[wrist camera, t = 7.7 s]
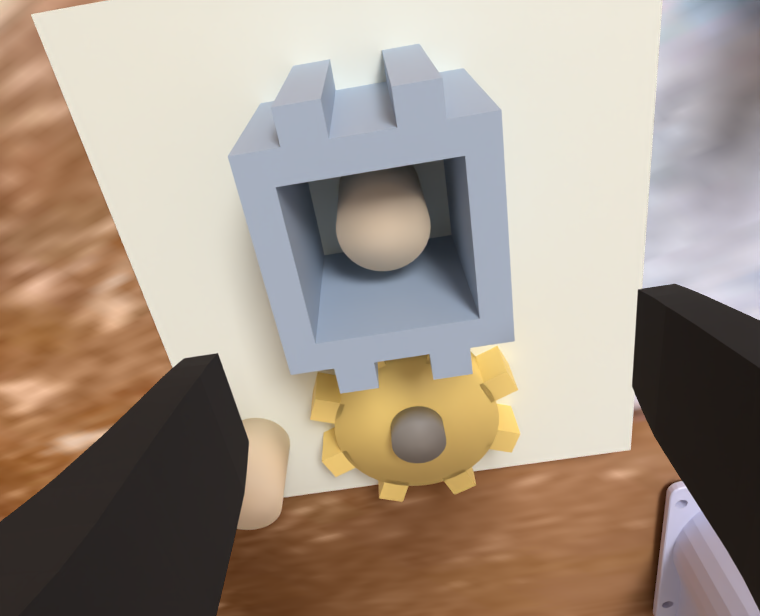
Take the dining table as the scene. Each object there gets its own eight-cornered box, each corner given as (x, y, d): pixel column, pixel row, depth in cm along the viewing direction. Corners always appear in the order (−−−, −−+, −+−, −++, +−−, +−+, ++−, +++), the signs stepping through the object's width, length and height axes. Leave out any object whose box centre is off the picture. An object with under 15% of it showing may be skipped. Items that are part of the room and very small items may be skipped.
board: (620, 432, 25) (663, 510, 21) (232, 486, 25) (212, 570, 22) (652, -98, 16) (735, -110, 12) (48, 11, 16) (-34, 27, 13)
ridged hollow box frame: (481, 276, 20) (515, 367, 15) (310, 303, 20) (297, 399, 16) (460, 36, 16) (498, 67, 12) (252, 72, 16) (215, 116, 12)
